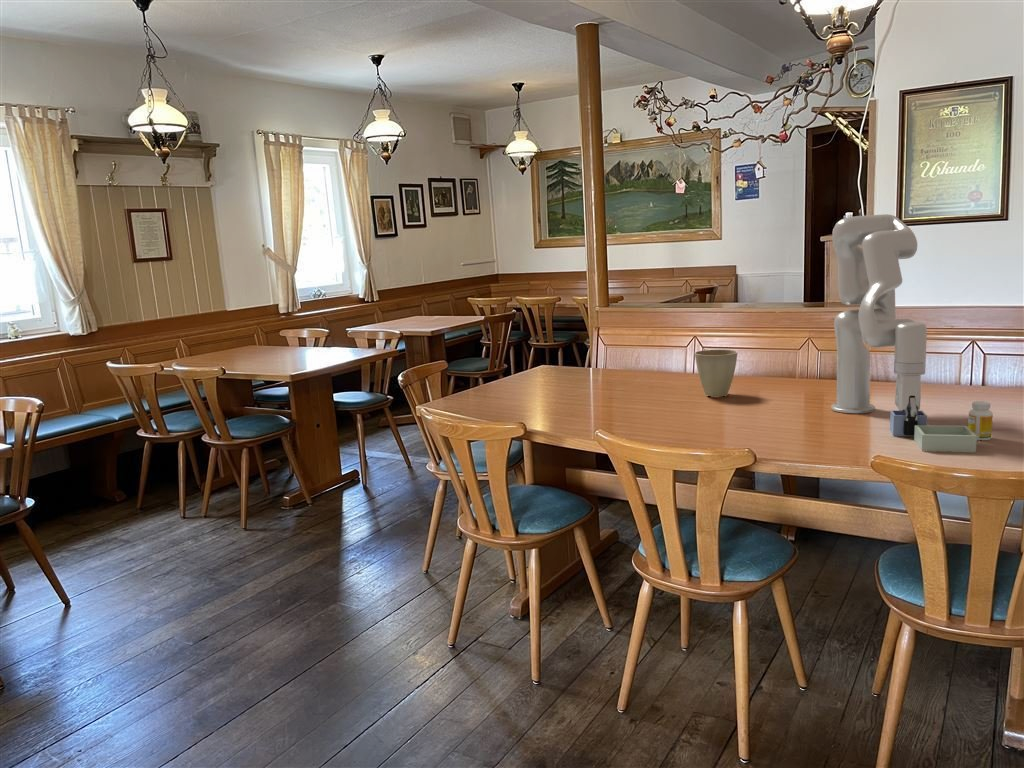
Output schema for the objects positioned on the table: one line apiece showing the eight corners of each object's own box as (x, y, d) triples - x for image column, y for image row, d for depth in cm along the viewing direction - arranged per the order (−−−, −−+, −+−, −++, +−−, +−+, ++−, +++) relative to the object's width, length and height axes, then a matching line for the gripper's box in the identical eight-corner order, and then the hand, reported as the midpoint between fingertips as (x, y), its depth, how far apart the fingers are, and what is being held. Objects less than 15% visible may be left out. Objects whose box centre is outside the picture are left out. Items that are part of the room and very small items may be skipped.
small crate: (889, 431, 208) (890, 410, 207) (921, 431, 206) (922, 410, 204) (893, 436, 202) (893, 415, 201) (926, 437, 200) (926, 415, 199)
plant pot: (743, 398, 260) (742, 353, 258) (700, 401, 261) (699, 356, 258) (731, 390, 275) (731, 347, 272) (691, 392, 276) (690, 350, 273)
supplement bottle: (965, 439, 195) (966, 403, 194) (969, 434, 199) (971, 399, 197) (988, 441, 192) (990, 405, 190) (993, 437, 195) (995, 401, 194)
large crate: (914, 441, 197) (914, 425, 197) (965, 442, 194) (966, 425, 193) (921, 452, 188) (922, 435, 187) (975, 453, 184) (976, 436, 183)
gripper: (889, 362, 210) (887, 423, 213) (899, 373, 194) (897, 439, 197) (919, 362, 207) (917, 423, 211) (931, 373, 191) (929, 439, 195)
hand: (907, 430), depth 204 cm, fingers open, 7 cm apart
